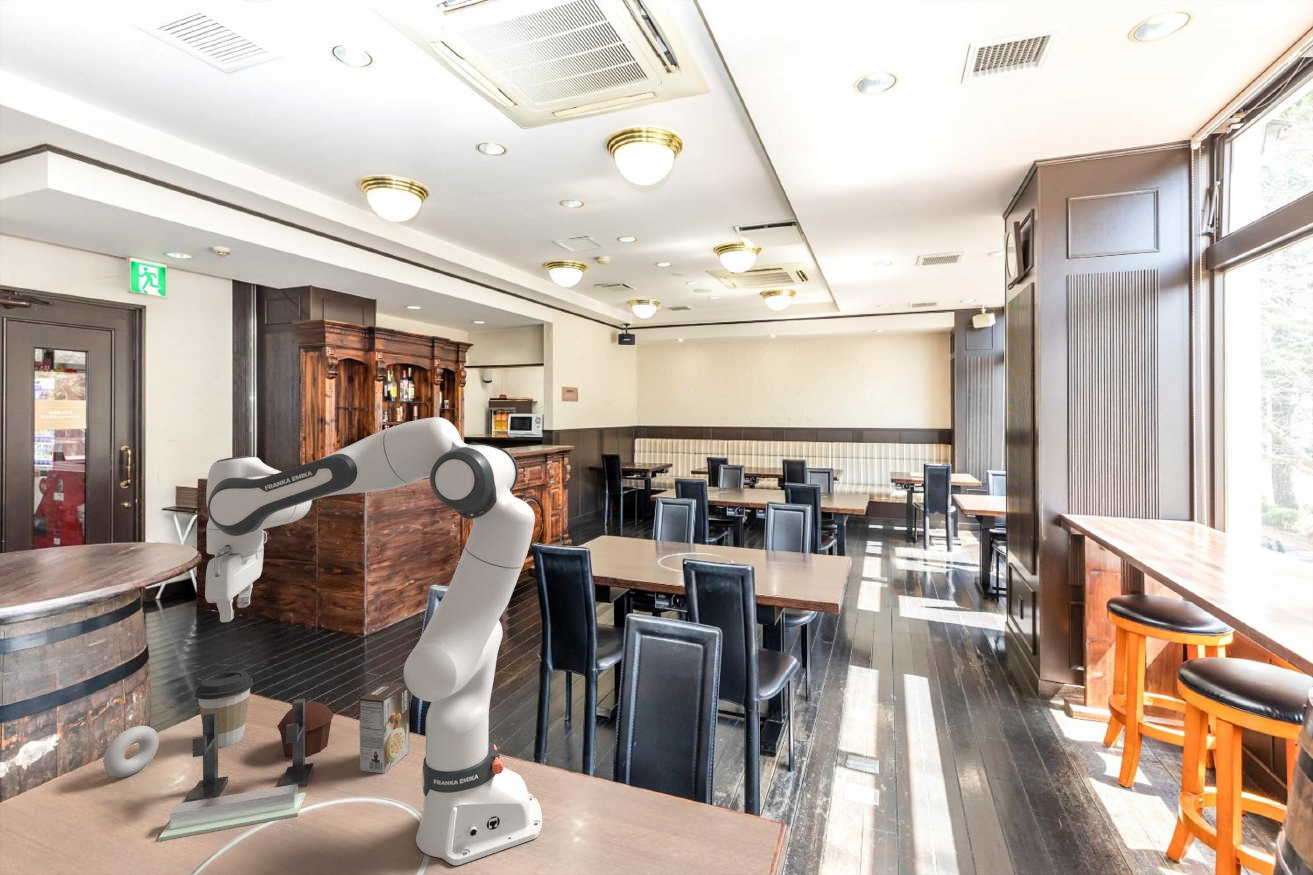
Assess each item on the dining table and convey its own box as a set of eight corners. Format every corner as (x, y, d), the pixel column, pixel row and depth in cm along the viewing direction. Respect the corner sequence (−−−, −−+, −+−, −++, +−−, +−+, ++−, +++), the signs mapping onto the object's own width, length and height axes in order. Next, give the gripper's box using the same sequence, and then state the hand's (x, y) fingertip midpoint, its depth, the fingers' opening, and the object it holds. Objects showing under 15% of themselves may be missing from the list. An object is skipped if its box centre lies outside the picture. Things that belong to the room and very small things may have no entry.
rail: (297, 798, 120) (297, 783, 120) (294, 807, 117) (294, 792, 117) (177, 819, 114) (177, 803, 114) (170, 829, 111) (170, 813, 111)
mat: (305, 794, 122) (305, 792, 122) (297, 815, 116) (297, 812, 116) (175, 817, 115) (175, 814, 115) (158, 840, 109) (158, 837, 109)
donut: (109, 788, 125) (109, 740, 124) (99, 785, 126) (98, 737, 126) (163, 763, 134) (162, 718, 134) (152, 760, 135) (152, 716, 135)
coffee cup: (250, 724, 152) (250, 664, 152) (256, 742, 143) (256, 679, 143) (194, 738, 145) (193, 676, 144) (196, 758, 136) (195, 692, 136)
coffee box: (385, 749, 140) (385, 680, 140) (410, 752, 139) (410, 682, 139) (358, 770, 131) (358, 697, 131) (384, 774, 130) (384, 700, 130)
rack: (313, 768, 132) (313, 695, 132) (305, 788, 125) (305, 711, 124) (199, 786, 125) (199, 709, 125) (183, 809, 118) (183, 727, 118)
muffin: (325, 758, 136) (325, 714, 136) (270, 765, 133) (269, 720, 133) (338, 732, 148) (338, 692, 148) (287, 738, 145) (287, 697, 145)
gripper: (236, 550, 106) (236, 628, 106) (269, 531, 126) (269, 598, 126) (193, 552, 104) (194, 632, 104) (233, 533, 124) (234, 600, 124)
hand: (235, 613), depth 115 cm, fingers open, 8 cm apart
